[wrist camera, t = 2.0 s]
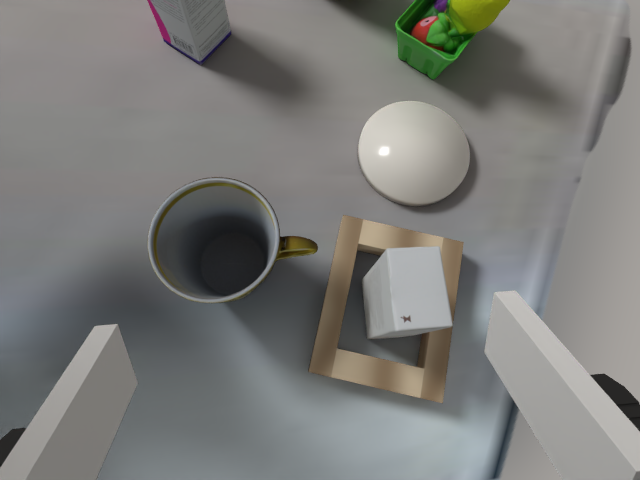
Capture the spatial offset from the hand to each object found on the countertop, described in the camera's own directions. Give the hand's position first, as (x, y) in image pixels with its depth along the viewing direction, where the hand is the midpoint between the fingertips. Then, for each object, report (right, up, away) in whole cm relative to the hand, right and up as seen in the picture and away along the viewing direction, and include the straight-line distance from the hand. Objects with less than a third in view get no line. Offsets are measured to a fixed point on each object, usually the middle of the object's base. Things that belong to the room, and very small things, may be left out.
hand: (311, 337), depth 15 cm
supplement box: (-14, +27, +33) cm, 45 cm away
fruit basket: (+15, +27, +35) cm, 46 cm away
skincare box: (+7, -3, +26) cm, 27 cm away
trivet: (+10, +13, +30) cm, 35 cm away
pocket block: (+7, -3, +26) cm, 27 cm away
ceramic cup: (-7, +1, +26) cm, 27 cm away
